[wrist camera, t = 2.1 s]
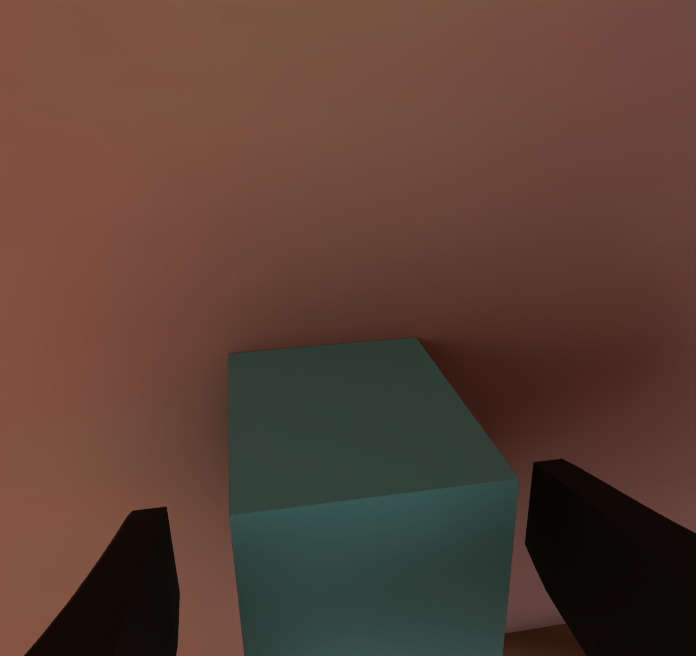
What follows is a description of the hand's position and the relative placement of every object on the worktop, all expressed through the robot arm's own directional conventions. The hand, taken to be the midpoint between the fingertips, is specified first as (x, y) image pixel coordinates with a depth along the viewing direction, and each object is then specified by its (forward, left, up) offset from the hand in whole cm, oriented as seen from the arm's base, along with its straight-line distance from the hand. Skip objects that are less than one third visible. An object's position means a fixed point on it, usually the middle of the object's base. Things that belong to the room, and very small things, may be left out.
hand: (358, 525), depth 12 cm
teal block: (0, 0, -4) cm, 4 cm away
